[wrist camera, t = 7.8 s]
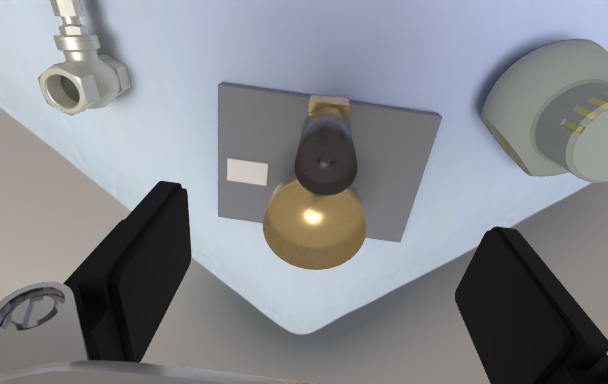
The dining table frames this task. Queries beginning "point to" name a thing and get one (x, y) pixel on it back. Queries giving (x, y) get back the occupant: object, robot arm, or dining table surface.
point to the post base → (284, 144)
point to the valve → (81, 67)
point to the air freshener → (554, 110)
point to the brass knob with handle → (319, 193)
